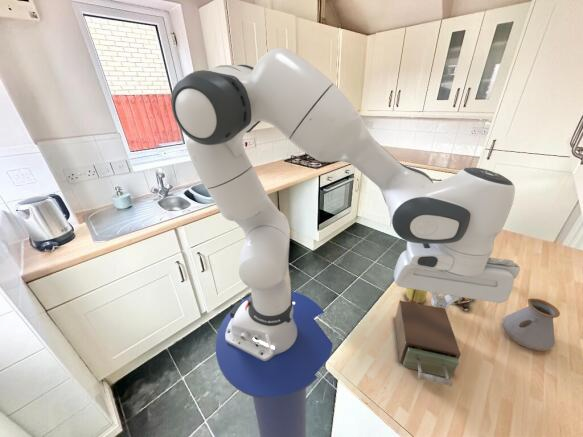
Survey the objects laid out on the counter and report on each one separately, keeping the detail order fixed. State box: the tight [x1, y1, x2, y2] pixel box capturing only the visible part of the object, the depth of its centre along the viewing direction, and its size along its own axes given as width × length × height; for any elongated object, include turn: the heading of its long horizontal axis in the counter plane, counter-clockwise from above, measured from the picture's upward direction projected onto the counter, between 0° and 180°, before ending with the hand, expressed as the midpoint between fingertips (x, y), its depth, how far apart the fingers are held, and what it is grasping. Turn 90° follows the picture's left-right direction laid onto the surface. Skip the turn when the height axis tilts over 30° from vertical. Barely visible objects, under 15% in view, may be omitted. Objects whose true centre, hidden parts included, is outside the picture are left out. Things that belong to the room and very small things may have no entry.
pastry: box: [452, 297, 474, 312], centre depth 86 cm, size 7×12×4 cm, turn 135°
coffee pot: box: [502, 297, 561, 352], centre depth 67 cm, size 21×12×15 cm, turn 119°
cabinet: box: [394, 300, 462, 364], centre depth 69 cm, size 15×13×9 cm
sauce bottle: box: [405, 288, 428, 305], centre depth 82 cm, size 6×6×20 cm
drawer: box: [402, 345, 460, 387], centre depth 65 cm, size 18×11×7 cm, turn 164°
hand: (438, 305), depth 53 cm, fingers closed
